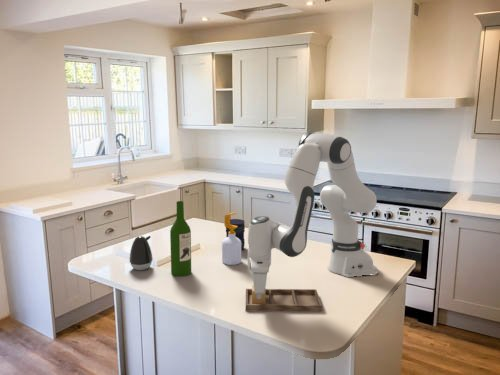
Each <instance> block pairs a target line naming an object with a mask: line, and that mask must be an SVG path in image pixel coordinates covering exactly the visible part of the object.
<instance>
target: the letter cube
mask: <svg viewBox="0 0 500 375" xmlns="http://www.w3.org/2000/svg"><path fill="white" fill-rule="evenodd" d="M251 289H252V303H254V304H265V296H266V290H265V292H264V293H263V294H262V295H261V299H257V293H255V292H254V285H253V284H252V285H251Z"/></svg>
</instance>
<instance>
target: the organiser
mask: <svg viewBox="0 0 500 375" xmlns="http://www.w3.org/2000/svg"><path fill="white" fill-rule="evenodd" d="M265 290H266V296H265V304H254V303H252V288H245V311H247V312H248V311H249V312H250V311H251V312H252V311H254V312H255V311H257V312H259V311H260V312H322V311H323V304H322V301H321V299H320V298H321V297H320V296H319V294H318V291H317V289H316V288H315V289H314V288H313V289H311V288H309V289H308V288H306V289H304V288H297V289H296V288H265Z"/></svg>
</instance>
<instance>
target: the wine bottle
mask: <svg viewBox="0 0 500 375" xmlns="http://www.w3.org/2000/svg"><path fill="white" fill-rule="evenodd" d="M184 213H185V212H184V201H183V200H182V201H181V200H179V201H176V219H175V221H174V223H172V226H171V227H170V231H169V232H170V237H169V240H170V273H171V275H172V276H173V277H180V278H181V277H186V276H189V275H190V274H191V275H192V236H191V233H192V231H191V228H190V226H189V224H188V222H187V221H186V219H185V215H184Z"/></svg>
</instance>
